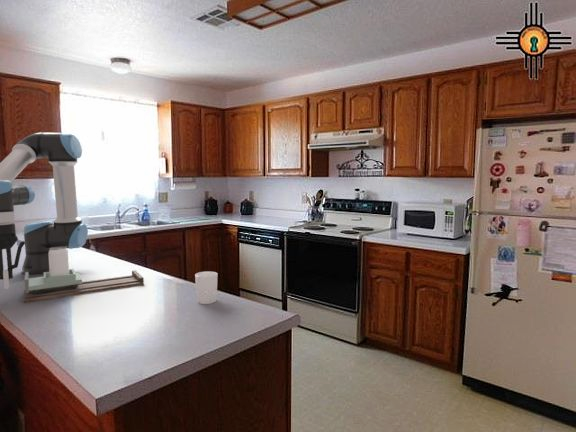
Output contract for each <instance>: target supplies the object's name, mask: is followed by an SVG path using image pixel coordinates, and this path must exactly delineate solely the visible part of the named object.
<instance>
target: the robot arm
mask: <svg viewBox="0 0 576 432" xmlns="http://www.w3.org/2000/svg"><path fill="white" fill-rule="evenodd" d="M82 155H83V146H82V144H81V141H80V139H79V138H78V136H77V135H76V134H74V133H72V132H66V131H65V132H64V131H63V132H62V131H61V132H57V131H56V132H35V133H32V134H30V135H28V136H26V137H24V138H22V139H21V140H19V141H18V142H17V143H15V145H13V147H12V148H11V152H10V153H9V154H8V155H7V156H5V157H4V159H3V160H2V161H1V162H0V280H1V281H3V287H4V290H7V289H10V287H11V285H10V283H11V282H10V279H13V276H14V274H13V273H14V272H13V269H17V268H18V266H19V263H20V257H21V252H22V249H23V247H24V251H25V257H24V259H23V264H22V267H21V270H22V271H21V272H22V274H25V272H28V273H29V275H37V274H44V272H50V271H49V255H48V253H49V250H50V249H49V248H52V247H66V249H70V250H72V249H80V248H82V247H83V246H85V244H86V242H87V240H88V234H89V233H88V232H89V231H88V227H87V225H86V224H85V223H83V222H82V221H83V220H82V218H81V217H79V214H78V203H77V190H76V189H77V188H76V187H77V186H76V176H75V175H76V174H75V165H76V164H77V163H78V159H80V158H81V157H82ZM38 159H47V160H48V161H47V162H48V163H49V164H50V165H51V166H52V173H53V186H54V198H55V208H56V211H55V212H56V218H55V219H54V220H46V221H40V222H32V223H29V224H26V225H24V227H23V236H24V237H23V239H24V240H22V239H19V238H18V236H17V232H16V224H15V223H14V222H16V221H15V208H14V206H20V205H21V206H22V205H23V206H25V205H28V204H31V203H32V202H34V201H35V197H36V192H35V190H34V189H33V188H32V187H31V186H29V185H26V184H17V185H16V184H15V185H14V184H13V181H14V180H15V179H16V178H17V177H18V175H20V173H21V172H22V171H23V170H24V169H25V168H26V167H27V166H28V165H29V164H32V163H34V162H35V161H36V160H38ZM15 244H16V246H17V249H16V253H15V259H14V264H13V260H12V248H13V247H14V245H15ZM3 250H6V251H5V253H6V262H7V269H4V260H3V256H4V255H3Z"/></svg>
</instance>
